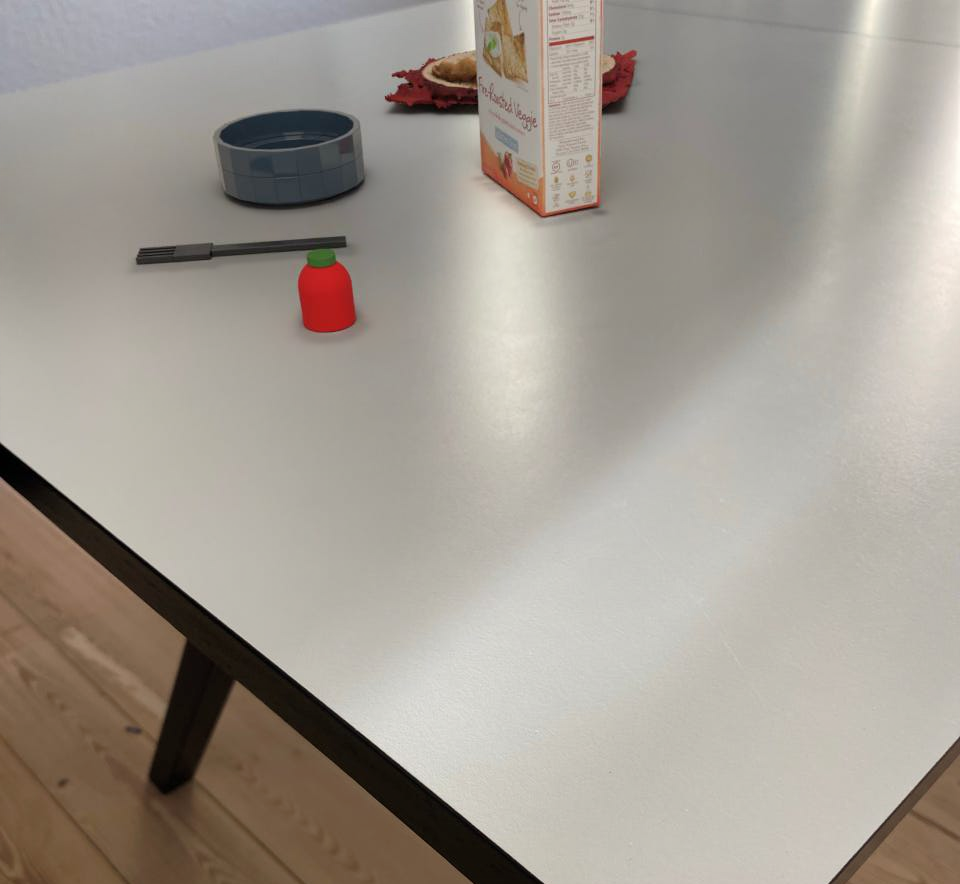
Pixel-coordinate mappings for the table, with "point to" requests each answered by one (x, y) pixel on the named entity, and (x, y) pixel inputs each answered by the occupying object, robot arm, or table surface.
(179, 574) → the table surface
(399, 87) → the plate with food
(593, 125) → the cracker box
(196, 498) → the table surface
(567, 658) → the table surface
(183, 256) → the fork
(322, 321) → the red rounded piece
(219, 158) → the bowl
